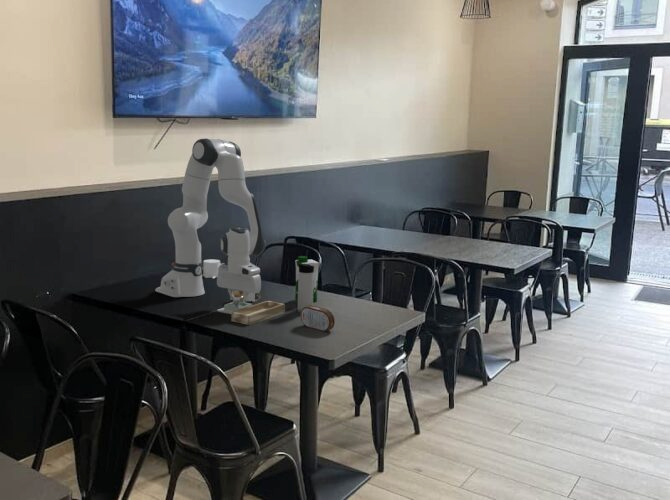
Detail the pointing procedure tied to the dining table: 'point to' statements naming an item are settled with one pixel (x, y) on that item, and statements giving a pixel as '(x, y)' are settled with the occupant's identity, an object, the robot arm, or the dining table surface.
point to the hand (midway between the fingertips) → (238, 300)
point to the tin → (317, 318)
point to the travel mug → (305, 286)
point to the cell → (237, 298)
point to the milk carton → (316, 264)
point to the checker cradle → (232, 307)
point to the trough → (257, 312)
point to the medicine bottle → (252, 297)
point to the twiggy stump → (211, 268)
